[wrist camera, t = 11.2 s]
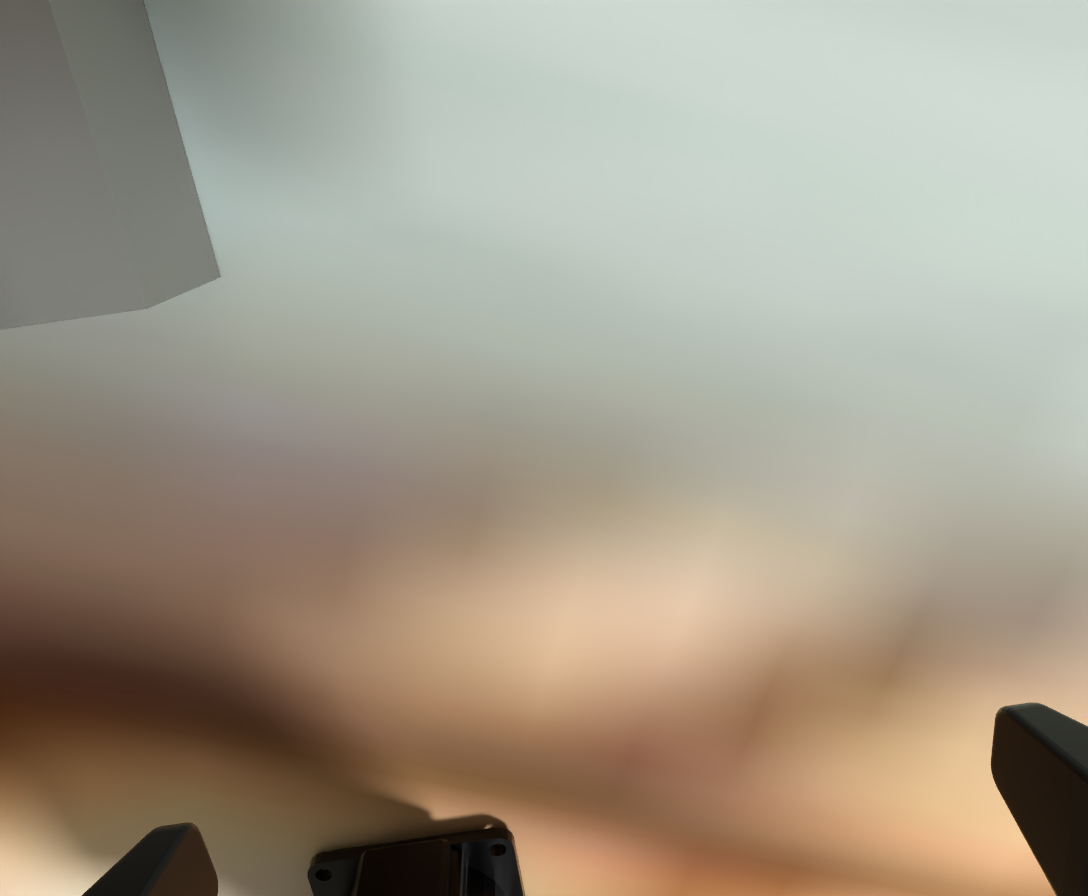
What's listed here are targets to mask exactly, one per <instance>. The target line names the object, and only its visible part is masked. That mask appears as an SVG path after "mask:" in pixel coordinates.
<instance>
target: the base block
mask: <svg viewBox="0 0 1088 896" xmlns="http://www.w3.org/2000/svg"><path fill="white" fill-rule="evenodd" d="M219 277H221V276H220V273H219V269H218V266H217V262H216V259H215V255H214V252H213V248H212V244H211V241H210V237H209V234H208V230H207V227H206V223H205V220H204V216H203V212H202V209H201V205H200V202H199V198H198V195H197V191H196V188H195V184H194V180H193V177H192V173H191V170H190V166H189V163H188V159H187V156H186V152H185V148H184V145H183V141H182V138H181V134H180V131H179V127H178V124H177V120H176V116H175V113H174V109H173V106H172V102H171V99H170V95H169V92H168V88H167V84H166V81H165V77H164V74H163V70H162V67H161V63H160V60H159V56H158V52H157V49H156V45H155V42H154V38H153V35H152V31H151V28H150V24H149V20H148V17H147V13H146V10H145V6H144V3H143V0H0V329H7V328H14V327H21V326H28V325H35V324H42V323H49V322H56V321H63V320H70V319H77V318H84V317H92V316H99V315H106V314H113V313H120V312H127V311H134V310H141V309H147V308H150V307H152V306H154V305H157V304H159V303H161V302H164V301H166V300H168V299H171V298H173V297H175V296H178V295H180V294H182V293H185V292H187V291H189V290H192V289H194V288H196V287H199V286H201V285H203V284H206V283H208V282H210V281H213V280H215V279H217V278H219Z"/></svg>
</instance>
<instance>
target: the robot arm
mask: <svg viewBox="0 0 1088 896" xmlns="http://www.w3.org/2000/svg"><path fill="white" fill-rule="evenodd" d="M991 770H992V775H993V778H994V781H995V784H996V786H997V788H998V790H999V792H1000V794H1001V795H1002V797H1003V799H1004V801H1005V803H1006V805H1007V806H1008V808H1009V810H1010V812H1011V814H1012V815H1013V817H1014V819H1015V821H1016V823H1017V825H1018V826H1019V828H1020V830H1021V832H1022V834H1023V836H1024V837H1025V839H1026V841H1027V843H1028V845H1029V847H1030V848H1031V850H1032V852H1033V854H1034V856H1035V857H1036V859H1037V861H1038V863H1039V865H1040V867H1041V868H1042V870H1043V872H1044V874H1045V876H1046V878H1047V879H1048V881H1049V883H1050V885H1051V887H1052V889H1053V890H1054V892H1055V894H1056V896H1088V726H1086V725H1084V724H1082V723H1080V722H1078V721H1076V720H1074V719H1072V718H1070V717H1067V716H1065V715H1063V714H1061V713H1059V712H1057V711H1055V710H1053V709H1051V708H1049V707H1047V706H1045V705H1042V704H1039V703H1025V704H1018V705H1011V706H1005V707H1002V708H1000V709H999V711H998V712H997V714H996V718H995V726H994V736H993V746H992V756H991ZM495 844H502V845H495ZM324 869H327V870H324ZM308 879H309V882H310V885H311V888H312V891H313V894H314V896H525V892H524V887H523V882H522V876H521V871H520V866H519V861H518V856H517V851H516V846H515V841H514V836H513V834H512V833H511V832H510V831H509V830H508V829H505V828H489V829H482V830H475V831H468V832H461V833H454V834H447V835H440V836H433V837H426V838H419V839H412V840H405V841H398V842H391V843H384V844H377V845H370V846H363V847H356V848H349V849H342V850H335V851H328V852H322V853H319V854H316V855H315V856H314V857H313V858H312V860H311V862H310V865H309V869H308ZM217 895H218V880H217V875H216V871H215V869H214V866H213V864H212V861H211V858H210V856H209V853H208V851H207V848H206V846H205V843H204V841H203V838H202V835H201V833H200V831H199V829H198V827H196V826H195V825H194V824H193V823H181V824H174V825H167V826H161V827H158V828H156V829H154V830H152V831H151V832H150V833H149V834H147V835H146V836H145V837H144V838H143V839H142V840H141V841H140V842H139V843H138V844H137V845H136V846H134V847H133V848H132V849H131V850H130V851H129V852H128V853H127V854H126V855H125V856H124V857H123V858H122V859H120V860H119V861H118V862H117V863H116V864H115V865H114V866H113V867H112V868H111V869H110V870H109V871H108V872H107V873H105V874H104V875H103V876H102V877H101V878H100V879H99V880H98V881H97V882H96V883H95V884H94V885H93V886H92V887H90V888H89V889H88V890H87V891H86V892H85V893H84V894H83V895H82V896H217Z"/></svg>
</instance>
